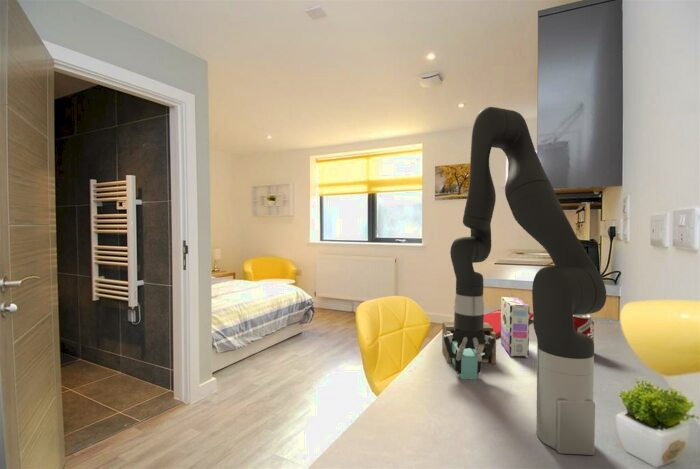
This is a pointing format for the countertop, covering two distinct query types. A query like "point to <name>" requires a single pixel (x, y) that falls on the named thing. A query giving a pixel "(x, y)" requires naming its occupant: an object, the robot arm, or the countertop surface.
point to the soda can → (584, 325)
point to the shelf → (488, 331)
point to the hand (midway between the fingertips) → (467, 372)
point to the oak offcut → (482, 350)
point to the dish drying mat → (496, 321)
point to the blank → (467, 363)
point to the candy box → (515, 327)
